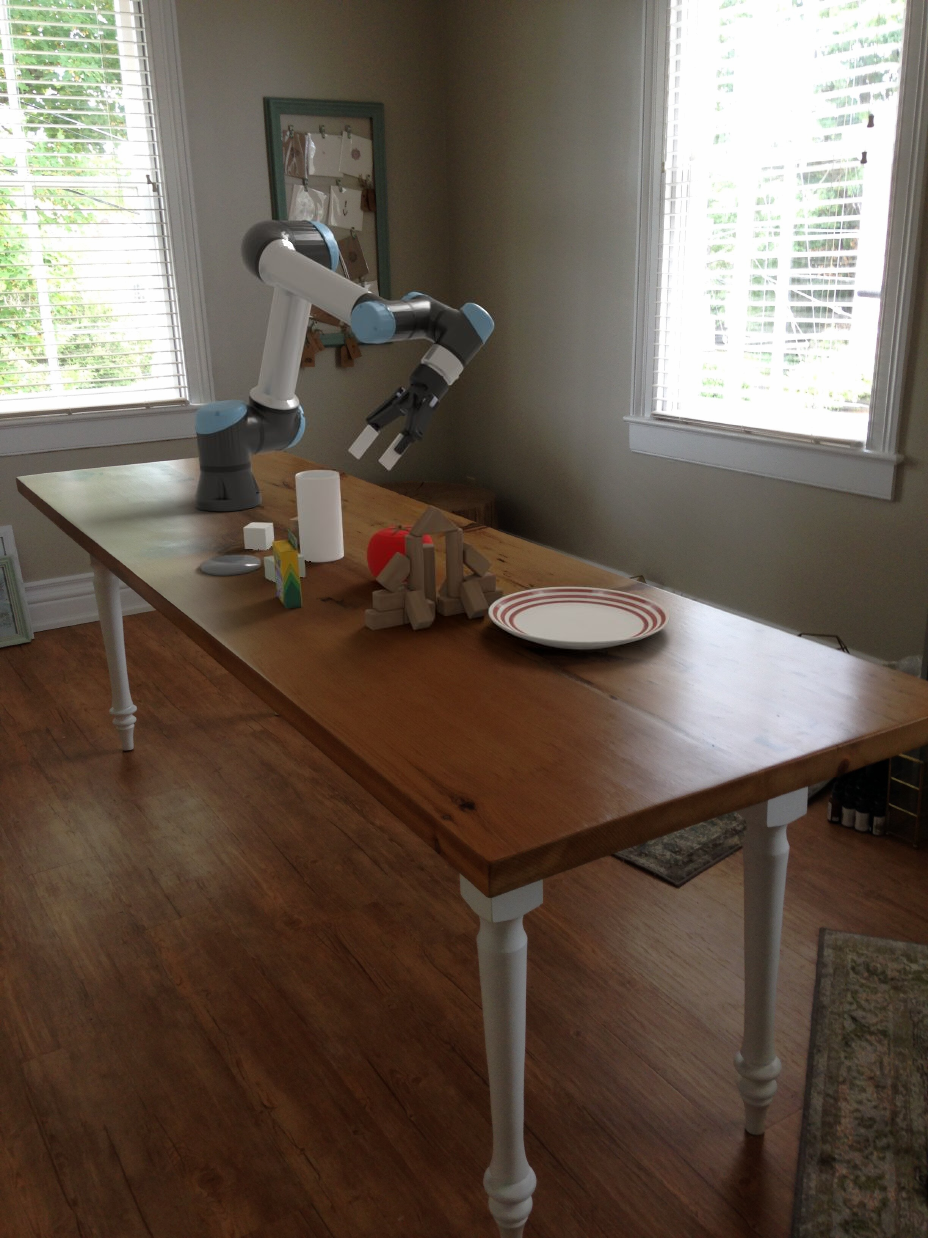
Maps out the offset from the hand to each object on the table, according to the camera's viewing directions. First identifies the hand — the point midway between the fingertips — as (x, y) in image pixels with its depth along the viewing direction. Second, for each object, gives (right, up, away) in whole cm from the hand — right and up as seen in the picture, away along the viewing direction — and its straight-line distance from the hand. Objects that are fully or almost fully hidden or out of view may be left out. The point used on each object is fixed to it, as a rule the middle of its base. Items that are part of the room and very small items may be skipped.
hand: (368, 460), depth 199 cm
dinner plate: (+36, -32, -40) cm, 62 cm away
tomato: (+7, -24, -16) cm, 30 cm away
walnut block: (-13, -15, +12) cm, 23 cm away
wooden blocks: (+14, -30, -32) cm, 46 cm away
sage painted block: (-14, -23, -12) cm, 29 cm away
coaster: (-25, -21, -5) cm, 33 cm away
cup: (-9, -19, +1) cm, 21 cm away
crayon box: (-11, -28, -25) cm, 39 cm away
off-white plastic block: (-22, -16, +8) cm, 29 cm away
